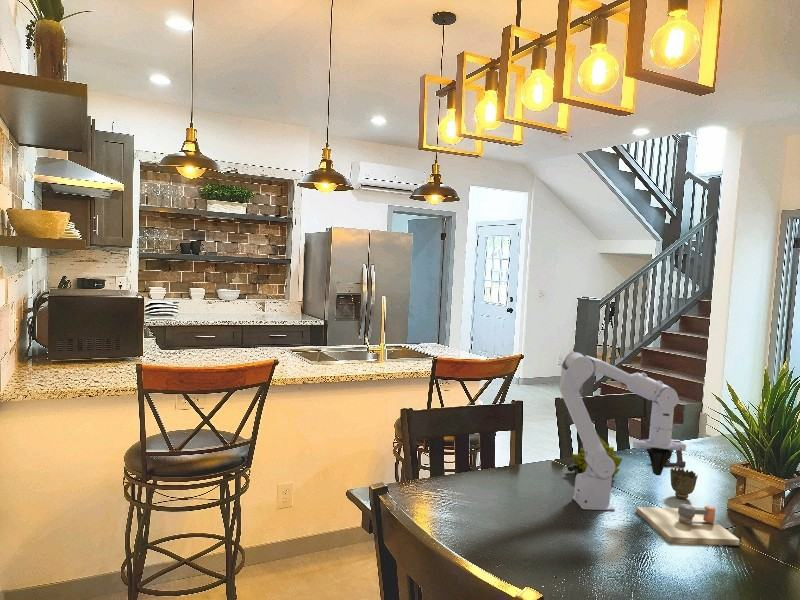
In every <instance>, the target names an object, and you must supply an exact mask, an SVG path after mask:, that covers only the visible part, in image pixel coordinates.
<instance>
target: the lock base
mask: <svg viewBox="0 0 800 600" xmlns="http://www.w3.org/2000/svg"><path fill="white" fill-rule="evenodd" d="M636 513H637V514H638V516H640V518H642V519H643V520H644V521H646V523H648V525H650V526H651V528H653V530H655V531H657V532H658V533H659V534H660V535H661V536H662V537H663V538H664V539H665V540H666V541H667V542H668V541H669V542H668V543H670V544H685V543H688V544H691V545H712V546H713V545H715V546H716V545H718V546H740V539H739V538H738V537H737V536H736V535H734V534H733V533H731V532H730V531H729V530H727V529H726V528H725V527H723V526H722V525H721V524H720V523H718V522H716V521H715V520H714V523H708V522H706V521H704V520H703V517H704V515H700V514H695V516H694V517H692V518H689V517H684V516H682V515H680V514H678V507H677V508H674V507H672V508H671V507H652V506H649V507H647V506H646V507H645V506H636Z"/></svg>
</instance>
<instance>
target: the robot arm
mask: <svg viewBox="0 0 800 600" xmlns="http://www.w3.org/2000/svg"><path fill="white" fill-rule="evenodd" d="M560 367H561V373H560V379H559V384H558V385H559V386H558V388H559V392H560V394H561V396H562V399H563V401H564V404H565V406H566V407H567V409H568V413H569V415H570V418H571V420H572V422H573V424H574V427H575V428H576V431H577V434H578V436H579V438H580V441H581V443H582V448H583V449H584V451H585V461H586V463H587V464H588V466H587V468H586V471H585V472H584V473H579V474H577V473H576V475H575V480H574V489H573V490H574V491H573V496H572V499H573V500H574V501H575V502H576V503H577V505H578V506H579V507H580V508H581V509H582V510H594V511H597V510H598V511H599V510H600V511H615V510H616V508H615V507H614V506H613V505H612V504H611V503H610V502H611V501H610V500H611V491H612V481H613V479H612V475H613V474H614V472H615V468H616V467H615V463H614V461H613V460H612V459H611V458H610V457H609V456H608V455H607V453H606V451H605V449H604V447H603V445H602V444H601V442H600V440H599V437H598V435H599V434H598V433H597V431H596V429H595V426H594V424H593V422H592V419H591V416H590V414H589V412H588V409H587V408H586V406H585V403H584V400H583V399H582V396H581V393H580V390H581V387H582V386H583V384H584V383H585V382H586V381H587V380H589V378H591V376H594V377H597V376H601V375H603V376H606V377H608V378H610V379H613V380H615V381H617V382H619V383H622V384H625V385H626V386H627V389H628V391H629V392H632V393H633V394H636V395H637V396H641V397H642V398H644V399H647V400H648V401H652V403H651V410H650V411H651V414H650V425H649V435H648V439H638V440H637V439H634V440H633V441H632V448H634V449H635V450H640V449H646V452H647V454H648V457H649V460H650V464H651V469H652V474H654V475H655V476H661V475H662V472H663V471H664V468H665V467H666V466H665V464H666V462H667V461H668V459H669V458H670V457H672V454H673V452H670V450H673V451H676V450H681V451H682V452H686V450H687V449H686V448H687V444H685V443H684V442H682V441H680V442H672V441H671V439H672V435H673V434H672V433H673V425H674V423H673V422H674V415H675V413H674V412H675V411H674V410H675V407H676V406H677V405H678V403H679V401H680V398H679V397H678V392H677V391H676V389H674V388H672V387H671V386H669V385H667V384H664V383H663V381H661V380H659V379H658V380H655V379H653V378H651V377H650V376H649V377H648V374H647V373H645V372H633V373H631V374H630V373H629V372H627V371H624V370H622V369H621V368H618V367H617V366H614V365H612V364H610V363H608V362H606V361H603V360H602V359H599V358H595V357H592V356H591V355H590V356H589V355H587V354H585V356H584V355H583V354H582V353H580V352H577V351H573V352H570V353H568V354H567V355H566V356H565V358H564V360H563V361H562V363H561V365H560ZM670 459H671V458H670Z"/></svg>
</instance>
